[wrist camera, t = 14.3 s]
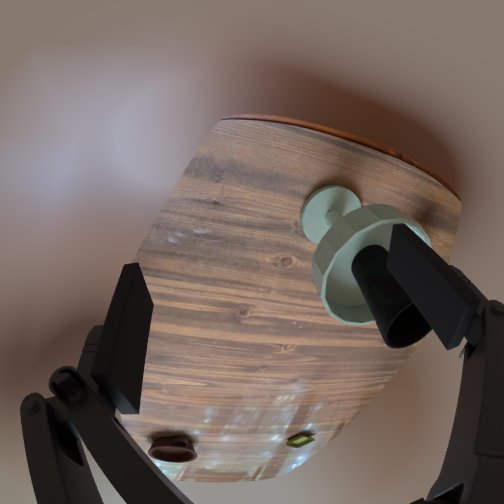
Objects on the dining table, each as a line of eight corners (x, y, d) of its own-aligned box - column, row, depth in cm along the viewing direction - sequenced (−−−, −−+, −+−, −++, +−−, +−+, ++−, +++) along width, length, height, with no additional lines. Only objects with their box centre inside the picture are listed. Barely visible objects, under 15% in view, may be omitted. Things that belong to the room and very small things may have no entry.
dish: (143, 448, 91) (143, 460, 87) (155, 428, 82) (154, 441, 78) (186, 456, 97) (187, 467, 93) (205, 436, 88) (206, 449, 83)
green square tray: (314, 435, 99) (315, 440, 97) (296, 444, 101) (297, 448, 99) (302, 432, 95) (303, 436, 93) (283, 440, 97) (284, 445, 95)
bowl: (285, 173, 46) (327, 225, 30) (375, 168, 47) (443, 214, 32) (285, 260, 54) (316, 334, 39) (366, 249, 56) (415, 312, 40)
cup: (391, 228, 36) (445, 283, 26) (395, 272, 40) (440, 329, 30) (338, 251, 37) (382, 316, 26) (348, 293, 41) (385, 358, 30)
